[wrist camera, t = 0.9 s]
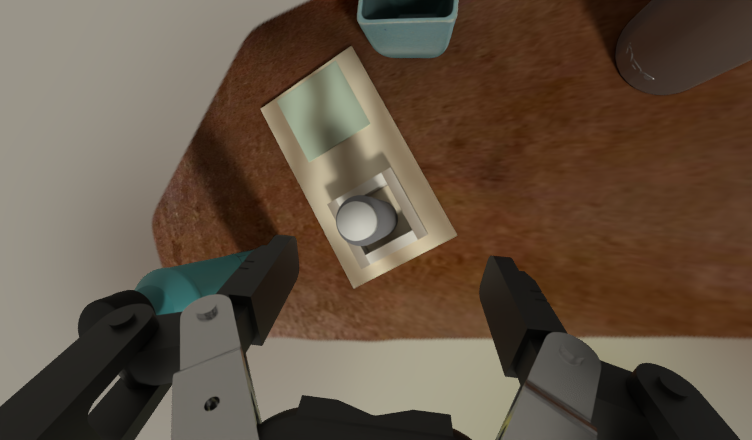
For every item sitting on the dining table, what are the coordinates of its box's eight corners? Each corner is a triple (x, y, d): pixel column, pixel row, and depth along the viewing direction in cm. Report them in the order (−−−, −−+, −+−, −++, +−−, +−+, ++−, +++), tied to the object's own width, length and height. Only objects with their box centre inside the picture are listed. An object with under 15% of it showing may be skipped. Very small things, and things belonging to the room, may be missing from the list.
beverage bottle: (243, 267, 38) (38, 327, 18) (274, 234, 36) (94, 258, 17) (273, 303, 37) (96, 406, 17) (306, 270, 36) (157, 339, 16)
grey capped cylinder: (386, 193, 33) (366, 183, 22) (404, 226, 32) (392, 232, 22) (355, 211, 33) (320, 210, 23) (372, 243, 33) (345, 257, 22)
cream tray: (353, 49, 34) (345, 32, 31) (456, 235, 32) (459, 237, 29) (264, 111, 36) (247, 101, 33) (355, 286, 35) (347, 294, 31)
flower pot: (382, -1, 33) (365, -79, 24) (457, -4, 31) (469, -88, 23) (374, 73, 33) (355, 23, 25) (448, 74, 32) (456, 21, 23)
